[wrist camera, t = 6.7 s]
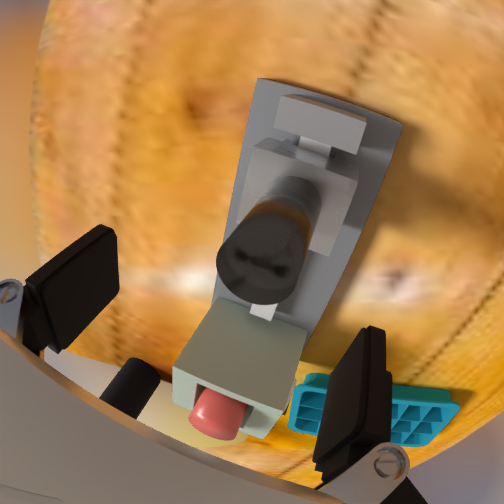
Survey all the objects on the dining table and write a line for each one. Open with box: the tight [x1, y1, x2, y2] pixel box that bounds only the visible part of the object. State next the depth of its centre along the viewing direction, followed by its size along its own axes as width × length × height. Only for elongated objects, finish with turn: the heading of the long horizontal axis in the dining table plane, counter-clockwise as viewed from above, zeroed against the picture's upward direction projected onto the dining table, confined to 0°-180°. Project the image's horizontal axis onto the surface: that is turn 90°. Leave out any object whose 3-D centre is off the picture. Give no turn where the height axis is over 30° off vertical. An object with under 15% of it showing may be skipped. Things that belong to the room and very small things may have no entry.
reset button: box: [189, 387, 249, 440], centre depth 24 cm, size 4×4×6 cm
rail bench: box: [172, 78, 403, 439], centre depth 22 cm, size 10×26×10 cm, turn 168°
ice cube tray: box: [288, 373, 460, 447], centre depth 33 cm, size 12×20×3 cm, turn 91°
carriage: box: [216, 137, 359, 305], centre depth 16 cm, size 6×5×11 cm
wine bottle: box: [99, 358, 160, 419], centre depth 34 cm, size 6×6×30 cm
